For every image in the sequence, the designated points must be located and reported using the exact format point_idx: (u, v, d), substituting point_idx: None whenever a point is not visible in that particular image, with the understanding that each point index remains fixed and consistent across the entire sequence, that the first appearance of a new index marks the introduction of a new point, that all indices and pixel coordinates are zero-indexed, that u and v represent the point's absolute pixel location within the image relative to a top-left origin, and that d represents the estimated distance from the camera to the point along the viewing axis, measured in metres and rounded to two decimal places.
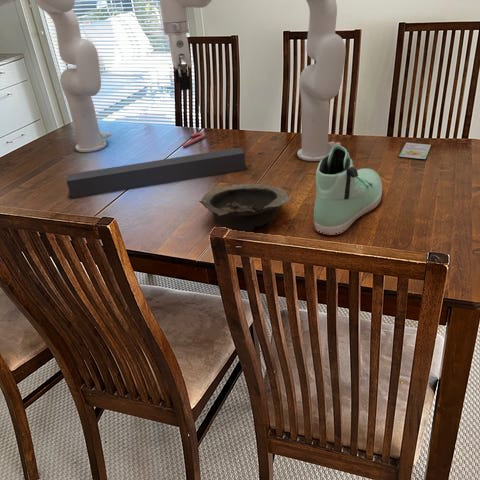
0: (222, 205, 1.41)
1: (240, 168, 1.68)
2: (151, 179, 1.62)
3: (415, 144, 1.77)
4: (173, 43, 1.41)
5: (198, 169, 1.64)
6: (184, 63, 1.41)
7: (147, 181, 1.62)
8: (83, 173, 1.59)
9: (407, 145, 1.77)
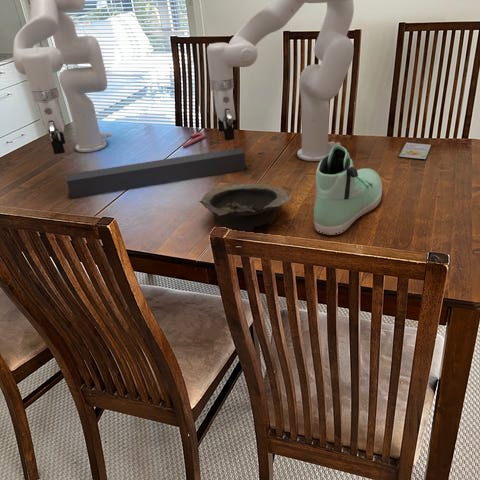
0: (222, 205, 1.41)
1: (240, 168, 1.68)
2: (151, 179, 1.62)
3: (415, 144, 1.77)
4: (220, 99, 1.53)
5: (198, 169, 1.64)
6: (230, 118, 1.52)
7: (147, 181, 1.62)
8: (83, 173, 1.59)
9: (407, 145, 1.77)
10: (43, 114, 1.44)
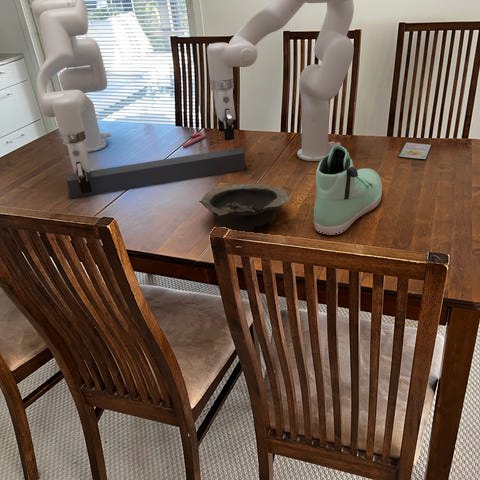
0: (222, 205, 1.41)
1: (240, 168, 1.68)
2: (151, 179, 1.62)
3: (415, 144, 1.77)
4: (220, 99, 1.53)
5: (198, 169, 1.64)
6: (230, 118, 1.52)
7: (147, 181, 1.62)
8: None
9: (407, 145, 1.77)
10: (71, 156, 1.50)
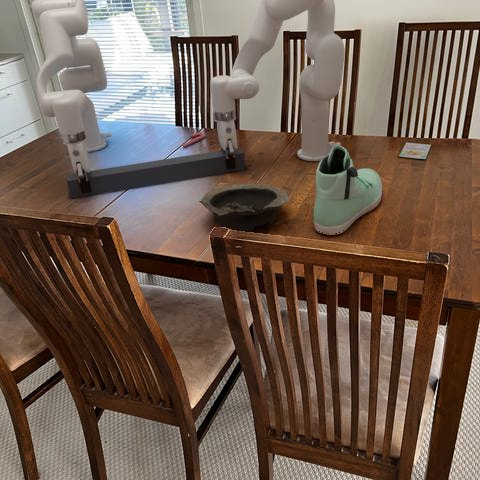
0: (222, 205, 1.41)
1: (240, 168, 1.68)
2: (151, 179, 1.62)
3: (415, 144, 1.77)
4: (222, 130, 1.58)
5: (198, 169, 1.64)
6: (232, 151, 1.59)
7: (147, 181, 1.62)
8: None
9: (407, 145, 1.77)
10: (71, 156, 1.50)
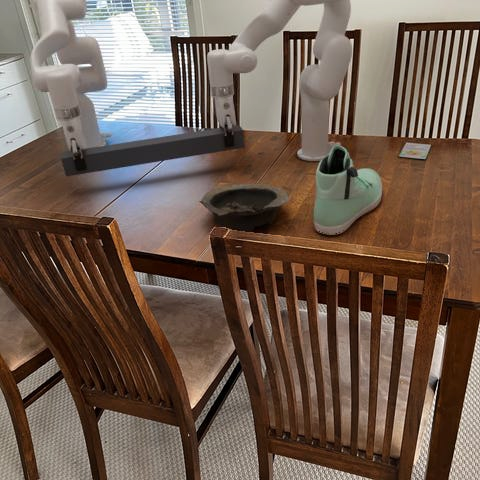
0: (222, 205, 1.41)
1: (239, 146, 1.64)
2: (147, 156, 1.58)
3: (415, 144, 1.77)
4: (220, 105, 1.54)
5: (196, 146, 1.60)
6: (230, 128, 1.55)
7: (143, 159, 1.58)
8: (78, 151, 1.56)
9: (407, 145, 1.77)
10: (65, 132, 1.46)
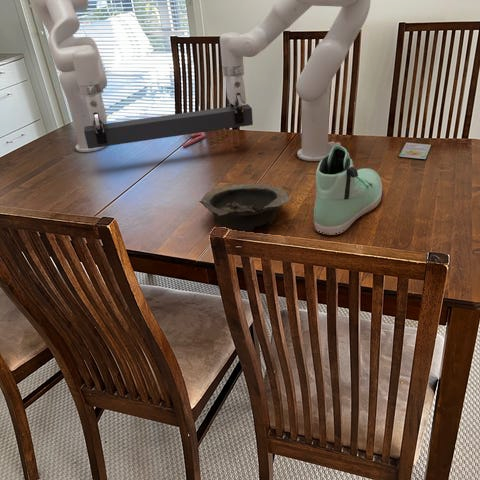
0: (222, 205, 1.41)
1: (247, 123, 1.77)
2: (163, 131, 1.71)
3: (415, 144, 1.77)
4: (232, 84, 1.67)
5: (208, 123, 1.73)
6: (241, 105, 1.68)
7: (159, 134, 1.71)
8: None
9: (407, 145, 1.77)
10: (89, 106, 1.59)
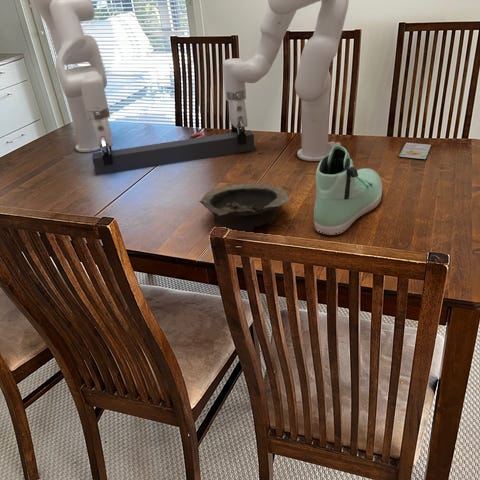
0: (222, 205, 1.41)
1: (249, 149, 1.83)
2: (168, 157, 1.77)
3: (415, 144, 1.77)
4: (234, 108, 1.72)
5: (211, 149, 1.80)
6: (243, 125, 1.72)
7: (165, 160, 1.77)
8: None
9: (407, 145, 1.77)
10: (96, 131, 1.64)
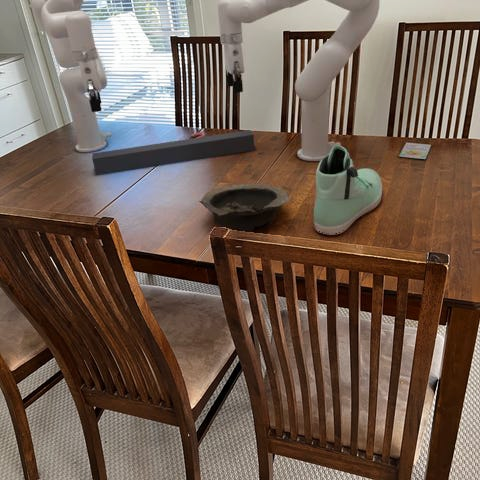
0: (222, 205, 1.41)
1: (249, 149, 1.83)
2: (168, 157, 1.77)
3: (415, 144, 1.77)
4: (229, 52, 1.62)
5: (211, 149, 1.80)
6: (239, 69, 1.62)
7: (165, 160, 1.77)
8: (107, 152, 1.75)
9: (407, 145, 1.77)
10: (83, 73, 1.54)
